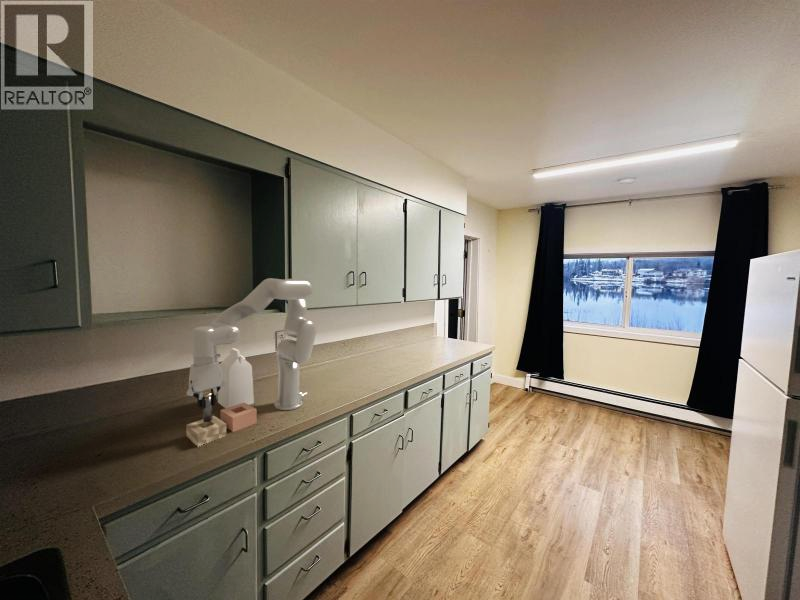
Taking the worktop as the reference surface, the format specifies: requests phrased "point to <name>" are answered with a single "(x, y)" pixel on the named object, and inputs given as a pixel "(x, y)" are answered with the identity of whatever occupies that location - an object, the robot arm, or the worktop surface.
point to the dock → (239, 416)
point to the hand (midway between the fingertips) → (207, 405)
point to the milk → (236, 380)
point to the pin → (207, 406)
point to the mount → (206, 431)
